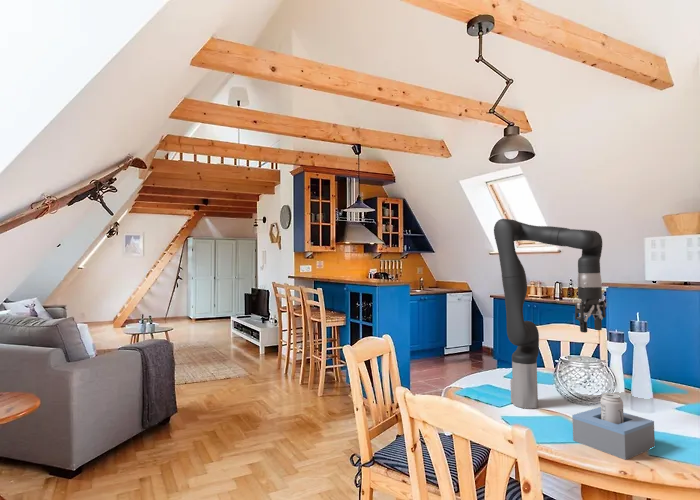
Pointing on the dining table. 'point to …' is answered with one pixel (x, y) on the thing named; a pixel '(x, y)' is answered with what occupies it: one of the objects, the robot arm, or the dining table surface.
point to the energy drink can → (612, 408)
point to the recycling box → (614, 433)
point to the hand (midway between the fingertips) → (591, 331)
